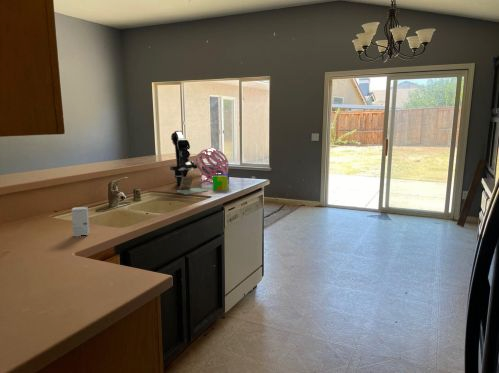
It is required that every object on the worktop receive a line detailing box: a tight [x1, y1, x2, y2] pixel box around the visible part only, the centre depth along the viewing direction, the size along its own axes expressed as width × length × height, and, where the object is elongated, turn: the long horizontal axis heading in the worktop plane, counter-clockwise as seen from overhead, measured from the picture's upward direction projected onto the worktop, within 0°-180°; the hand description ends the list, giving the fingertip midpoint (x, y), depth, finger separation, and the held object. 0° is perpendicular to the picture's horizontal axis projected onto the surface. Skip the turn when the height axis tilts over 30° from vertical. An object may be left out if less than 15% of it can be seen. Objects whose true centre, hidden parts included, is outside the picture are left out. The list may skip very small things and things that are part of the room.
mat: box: [175, 187, 209, 196], centre depth 252 cm, size 14×18×1 cm
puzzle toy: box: [212, 173, 230, 191], centre depth 259 cm, size 10×10×10 cm
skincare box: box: [71, 206, 91, 237], centre depth 157 cm, size 6×4×12 cm
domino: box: [178, 175, 194, 190], centre depth 256 cm, size 3×7×10 cm
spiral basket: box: [194, 148, 230, 184], centre depth 288 cm, size 28×28×27 cm
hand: (184, 179), depth 257 cm, fingers closed
